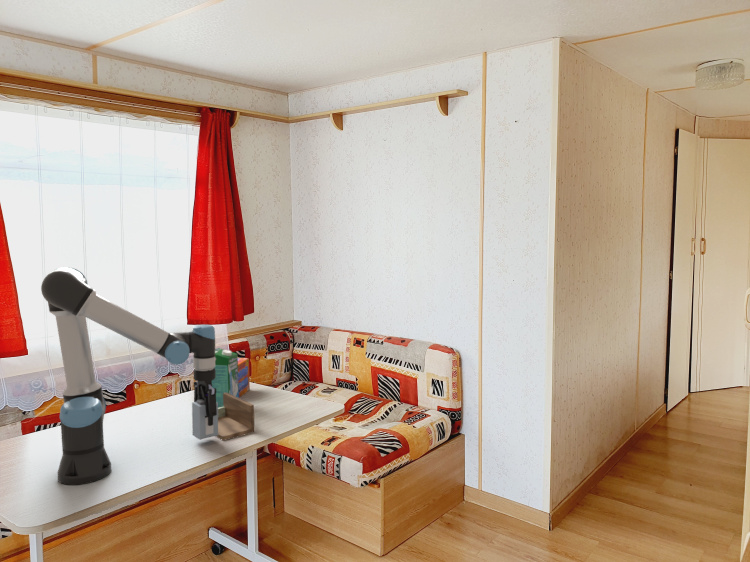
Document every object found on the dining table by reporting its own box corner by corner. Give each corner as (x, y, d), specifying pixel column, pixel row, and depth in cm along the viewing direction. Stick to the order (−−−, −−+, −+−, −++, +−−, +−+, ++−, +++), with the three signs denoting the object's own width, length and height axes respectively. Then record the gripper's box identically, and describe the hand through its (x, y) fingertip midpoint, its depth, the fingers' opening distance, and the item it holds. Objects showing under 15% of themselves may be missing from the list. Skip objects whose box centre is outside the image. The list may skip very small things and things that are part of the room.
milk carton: (230, 411, 242) (228, 352, 240) (210, 410, 244) (208, 352, 242) (239, 404, 251) (237, 348, 249) (220, 403, 253) (218, 347, 250)
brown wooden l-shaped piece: (222, 440, 209) (221, 412, 208) (196, 425, 226) (195, 399, 225) (254, 431, 218) (253, 404, 217) (227, 417, 234) (226, 392, 233)
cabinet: (199, 439, 204) (199, 403, 202) (192, 435, 208) (192, 399, 207) (218, 435, 208) (217, 400, 207) (210, 430, 213) (210, 396, 211)
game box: (219, 388, 276) (218, 356, 274) (250, 390, 273) (249, 357, 272) (204, 398, 261) (203, 364, 259) (236, 400, 258) (235, 366, 256)
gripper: (226, 372, 201) (227, 436, 203) (202, 362, 215) (203, 422, 218) (206, 375, 196) (207, 441, 198) (183, 364, 211) (184, 426, 213)
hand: (205, 431), depth 208 cm, fingers closed on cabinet, 6 cm apart
